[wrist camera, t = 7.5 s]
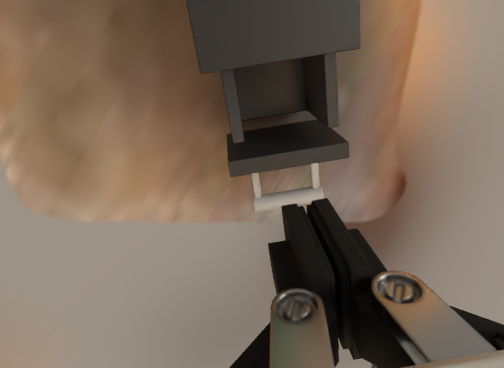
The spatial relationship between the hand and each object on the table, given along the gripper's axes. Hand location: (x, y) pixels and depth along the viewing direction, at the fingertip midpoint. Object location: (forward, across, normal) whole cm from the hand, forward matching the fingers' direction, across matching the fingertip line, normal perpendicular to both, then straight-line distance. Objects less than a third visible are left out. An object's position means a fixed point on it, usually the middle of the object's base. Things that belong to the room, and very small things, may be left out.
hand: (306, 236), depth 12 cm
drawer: (+20, -1, -2) cm, 20 cm away
